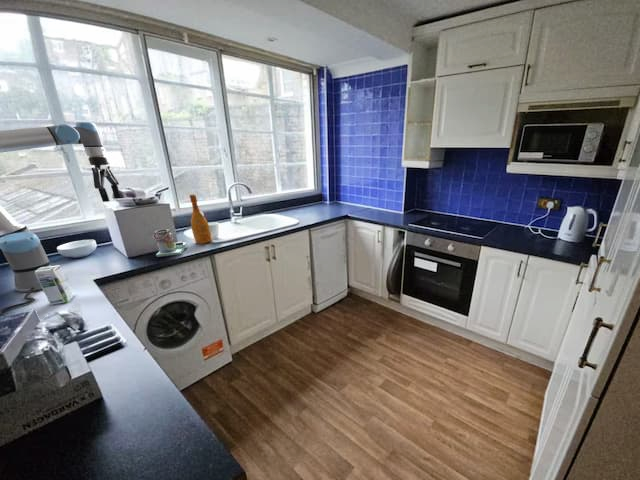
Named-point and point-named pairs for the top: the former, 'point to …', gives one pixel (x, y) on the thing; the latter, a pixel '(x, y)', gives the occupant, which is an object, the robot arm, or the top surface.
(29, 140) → the robot arm
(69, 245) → the cereal bowl
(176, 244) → the tare button
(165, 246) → the glass clasp jar
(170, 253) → the scale
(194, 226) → the wine bottle
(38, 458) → the top surface
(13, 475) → the top surface
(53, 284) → the syrup box
